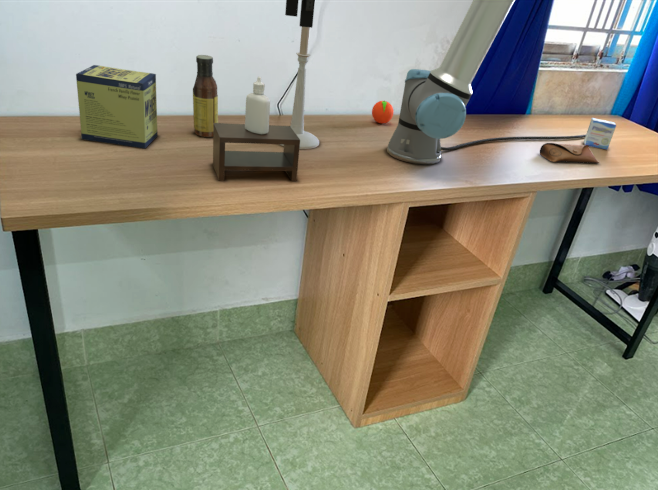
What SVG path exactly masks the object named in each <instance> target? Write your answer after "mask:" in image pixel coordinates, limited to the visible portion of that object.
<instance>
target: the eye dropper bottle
mask: <svg viewBox="0 0 658 490" xmlns="http://www.w3.org/2000/svg"><path fill="white" fill-rule="evenodd" d="M265 87H266V85H265V83H264V82H263V81H262V76H257V78H256V80H255V81H254V82H253V84H252V92H250V93H248V94H247V95H246V98H245V110H244V111H245V115H244V124H245V129H246V130H248V131H250V132H253V133H256V134H261V135H263V134H267V133H268V132H269V125H270V116H271V115H270V113H271V100H270V98H269V97H268V96H267V95H265Z"/></svg>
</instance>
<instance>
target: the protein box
mask: <svg viewBox="0 0 658 490" xmlns="http://www.w3.org/2000/svg"><path fill="white" fill-rule="evenodd" d="M75 76H76V77H75V80H76V90H77V91H76V92H77V102H78V110H79V111H78V112H79V123H80V136H81V140H84V141H89V142H98V143H105V144H111V145H117V146H125V147H132V148H137V149H146V148H147V147H148V146H149V145H150V144H152V143H153V141H155V139H157V138H158V137H159V134H158V105H157V104H158V102H157V74H156V73H152V72H144V71H137V70H130V69H123V68H118V67H112V66H111V67H110V66H104V65H97V64H93V65H91V66H89V67H88V68H85V69H83V70H81V71H79V72H77V73H76V74H75Z"/></svg>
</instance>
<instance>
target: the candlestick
mask: <svg viewBox="0 0 658 490" xmlns="http://www.w3.org/2000/svg"><path fill="white" fill-rule="evenodd" d="M310 29H311V27H301V30H300V42H299V52H296V55H297V62H298V67H297V75H296V83H295V90H294V97H293V98H294V100H293V105H292V114H291V120H290V121H291V122H290V125H289V126H290V127H291V128H292V129H293V131H294V132H295V134H296V135H297V136H298V138H299V139H300V148H299V150H310V149H315V148H317V147H318V146H319V145H320V140H319V138H318V137H317V136H316V135H315V134H313V133H311V132H309V131H306V130H305V129H304V127H305V101H306V100H305V98H306V78H307V77H306V76H307V75H306V74H307V73H306V72H307V68H306V66H307V63H308V62H309V57H310V56H311V54H310V53H308V51H309V38H310ZM278 146H281V147H284V144H278Z"/></svg>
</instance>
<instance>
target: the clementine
mask: <svg viewBox="0 0 658 490" xmlns="http://www.w3.org/2000/svg"><path fill="white" fill-rule="evenodd" d="M394 112H395V111H394V107H393V105H392V104H391V103H390V102H389V101H386V100H379V101H377V102H375V104H373V106H372V109H371V115H372V116H371V117H372V118H373V120H374V121H375V122H376V123H379V124H381V125H382V124H387V123H389V122H390V121H391V120H393V119H392V118H393V116H394Z"/></svg>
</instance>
